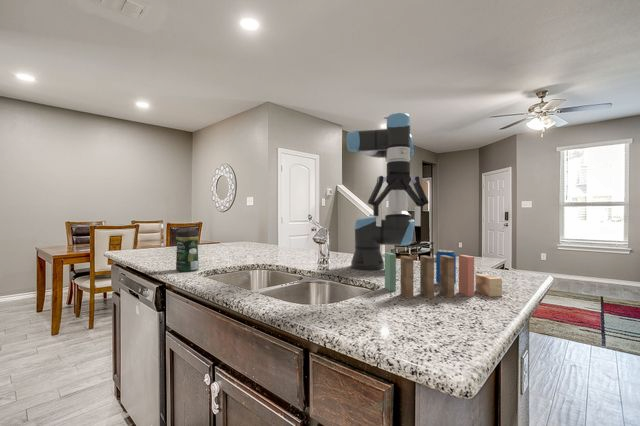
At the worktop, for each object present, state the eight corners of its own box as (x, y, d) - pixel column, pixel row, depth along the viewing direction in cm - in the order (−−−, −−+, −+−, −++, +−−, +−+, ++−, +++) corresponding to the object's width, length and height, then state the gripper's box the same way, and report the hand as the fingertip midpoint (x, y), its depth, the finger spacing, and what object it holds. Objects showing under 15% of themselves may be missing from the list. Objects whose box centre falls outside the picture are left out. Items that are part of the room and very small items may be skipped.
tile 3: (420, 293, 99) (420, 255, 99) (426, 293, 99) (426, 255, 99) (427, 298, 94) (427, 258, 94) (434, 297, 94) (434, 257, 94)
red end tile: (458, 292, 100) (458, 254, 100) (464, 292, 100) (464, 254, 100) (468, 296, 95) (468, 257, 95) (474, 296, 96) (474, 257, 95)
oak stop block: (475, 290, 102) (475, 274, 102) (486, 290, 103) (486, 273, 103) (489, 296, 95) (489, 278, 95) (501, 296, 96) (501, 278, 96)
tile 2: (400, 294, 98) (400, 256, 98) (406, 294, 98) (406, 256, 98) (407, 298, 93) (407, 258, 93) (413, 298, 93) (413, 258, 93)
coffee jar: (172, 270, 137) (172, 228, 137) (189, 267, 144) (189, 227, 144) (184, 273, 132) (184, 229, 132) (201, 270, 138) (201, 228, 138)
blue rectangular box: (452, 282, 114) (452, 249, 114) (458, 286, 107) (458, 252, 107) (434, 282, 114) (434, 249, 114) (439, 286, 108) (439, 251, 108)
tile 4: (439, 292, 99) (439, 255, 99) (445, 292, 100) (445, 255, 100) (448, 297, 94) (448, 257, 94) (454, 297, 95) (454, 257, 95)
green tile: (384, 287, 106) (384, 252, 106) (390, 287, 107) (390, 252, 107) (389, 291, 101) (389, 254, 101) (395, 291, 102) (395, 254, 102)
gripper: (365, 159, 97) (365, 227, 98) (439, 160, 101) (439, 226, 102) (358, 162, 105) (358, 225, 105) (427, 164, 109) (427, 225, 109)
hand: (398, 226), depth 103 cm, fingers open, 13 cm apart
